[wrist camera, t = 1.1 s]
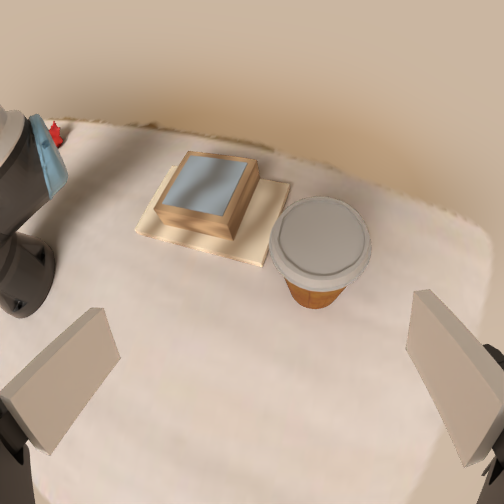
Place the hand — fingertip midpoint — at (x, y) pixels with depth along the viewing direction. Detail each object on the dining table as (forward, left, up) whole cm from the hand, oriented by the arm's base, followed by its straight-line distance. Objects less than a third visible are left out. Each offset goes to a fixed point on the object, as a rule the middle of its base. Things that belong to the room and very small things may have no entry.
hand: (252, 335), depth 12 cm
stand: (-16, +19, -23) cm, 34 cm away
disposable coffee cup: (+1, +12, -24) cm, 26 cm away
